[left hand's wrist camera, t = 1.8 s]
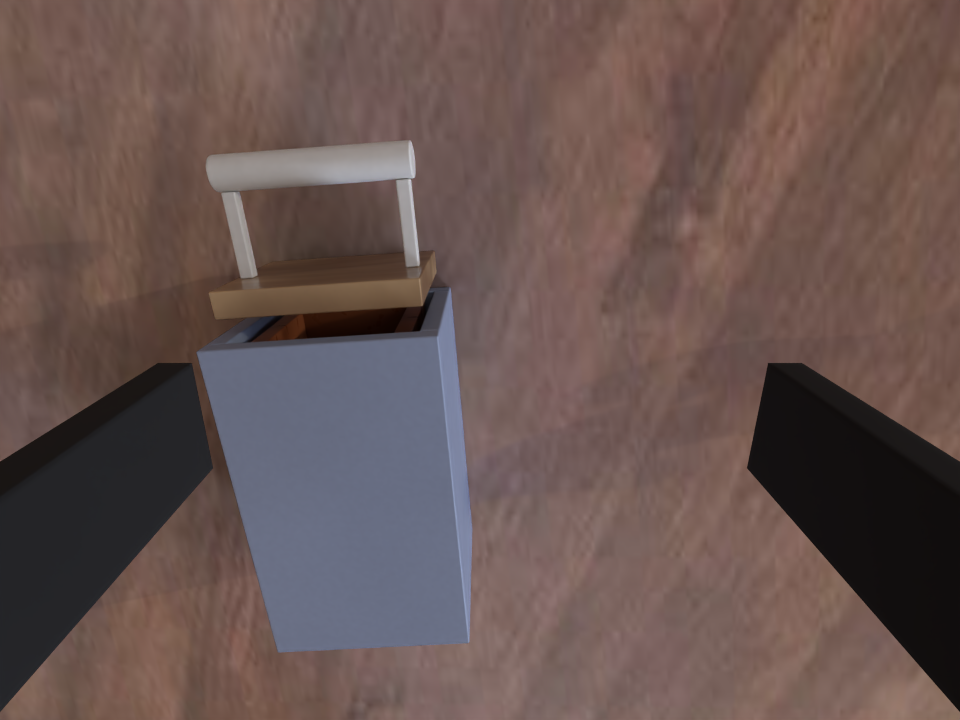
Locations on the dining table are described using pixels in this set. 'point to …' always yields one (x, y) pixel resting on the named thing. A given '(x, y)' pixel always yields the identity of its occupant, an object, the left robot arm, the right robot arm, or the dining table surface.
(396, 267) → the drawer
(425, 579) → the cabinet
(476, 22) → the dining table surface
